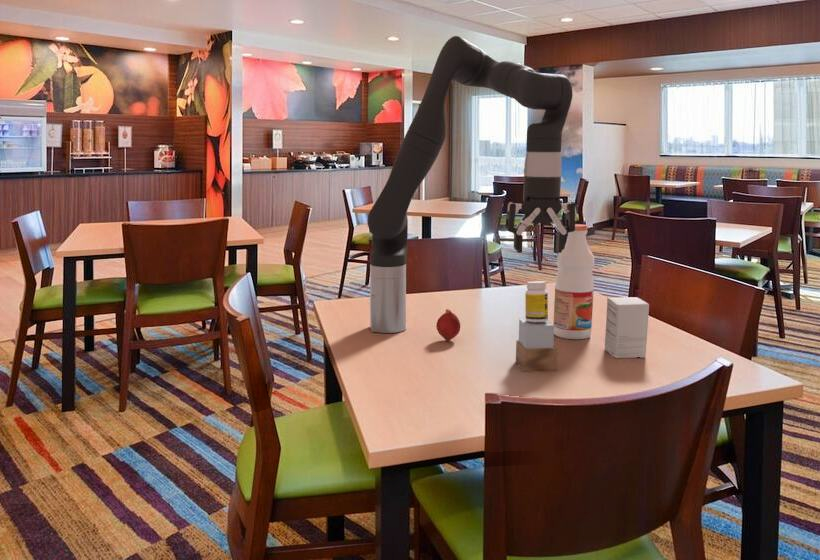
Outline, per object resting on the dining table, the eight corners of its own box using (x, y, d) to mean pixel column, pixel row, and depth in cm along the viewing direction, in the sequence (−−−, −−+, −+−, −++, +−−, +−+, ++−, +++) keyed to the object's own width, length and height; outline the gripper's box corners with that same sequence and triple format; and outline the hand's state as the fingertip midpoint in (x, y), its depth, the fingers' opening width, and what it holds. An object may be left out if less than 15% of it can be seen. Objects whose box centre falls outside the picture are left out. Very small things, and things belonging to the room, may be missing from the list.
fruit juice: (558, 328, 176) (563, 222, 170) (595, 333, 171) (601, 224, 166) (548, 337, 168) (553, 225, 162) (585, 342, 163) (592, 228, 158)
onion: (445, 336, 168) (446, 305, 167) (464, 340, 165) (465, 308, 163) (431, 341, 164) (432, 309, 162) (450, 345, 160) (451, 313, 159)
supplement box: (634, 348, 158) (638, 296, 156) (646, 358, 151) (650, 303, 149) (603, 348, 158) (606, 296, 156) (613, 358, 151) (617, 304, 148)
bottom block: (524, 372, 142) (525, 349, 141) (515, 362, 149) (516, 340, 148) (556, 371, 142) (557, 348, 142) (546, 361, 149) (547, 339, 148)
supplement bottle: (549, 322, 141) (549, 282, 140) (526, 322, 141) (526, 283, 141) (546, 319, 146) (546, 280, 145) (524, 319, 146) (524, 281, 145)
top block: (525, 348, 141) (526, 326, 140) (518, 340, 147) (519, 318, 146) (553, 348, 142) (554, 325, 141) (545, 340, 148) (546, 318, 147)
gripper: (513, 175, 133) (510, 255, 136) (582, 175, 135) (577, 254, 138) (504, 173, 141) (501, 249, 144) (570, 173, 142) (566, 249, 145)
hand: (539, 252), depth 141 cm, fingers open, 8 cm apart
